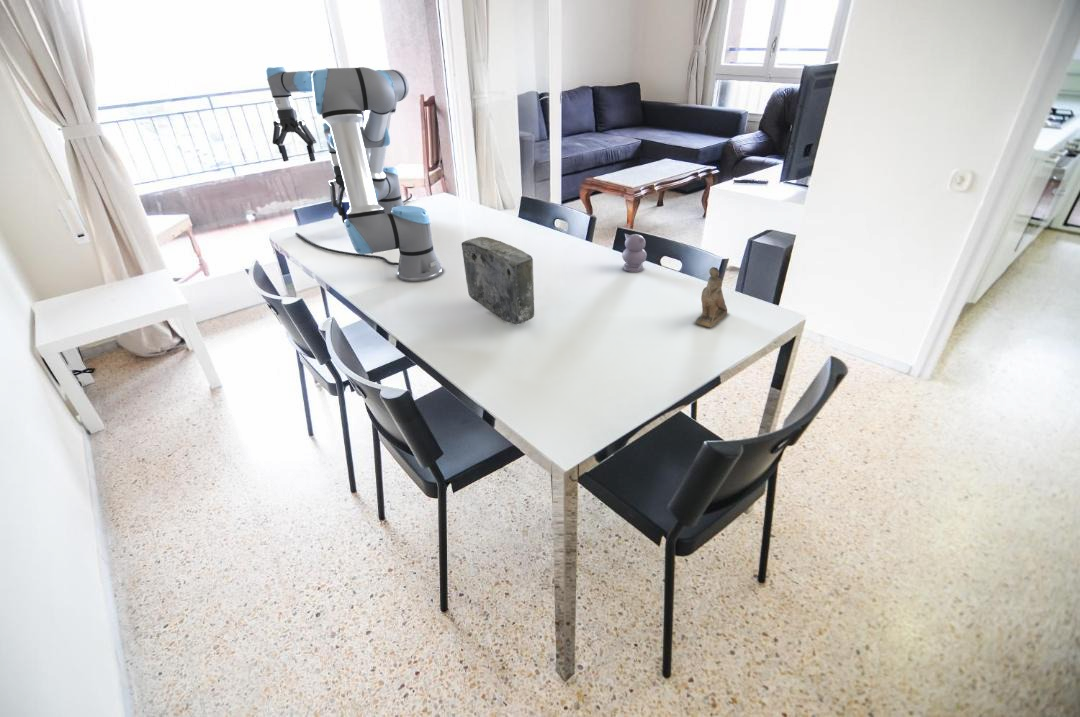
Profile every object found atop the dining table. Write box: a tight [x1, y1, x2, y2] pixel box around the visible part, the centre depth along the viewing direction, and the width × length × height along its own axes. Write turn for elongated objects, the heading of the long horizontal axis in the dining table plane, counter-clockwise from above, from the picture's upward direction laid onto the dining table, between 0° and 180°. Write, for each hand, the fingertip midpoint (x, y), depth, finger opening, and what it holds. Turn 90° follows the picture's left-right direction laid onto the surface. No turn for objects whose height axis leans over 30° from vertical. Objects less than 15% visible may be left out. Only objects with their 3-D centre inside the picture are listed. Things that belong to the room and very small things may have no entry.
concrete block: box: [461, 236, 535, 325], centre depth 141 cm, size 27×9×20 cm, turn 36°
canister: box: [341, 197, 350, 219], centre depth 208 cm, size 8×8×12 cm
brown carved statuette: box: [695, 266, 728, 328], centre depth 135 cm, size 12×6×18 cm, turn 136°
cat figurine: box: [621, 233, 648, 273], centre depth 170 cm, size 8×8×12 cm
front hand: (355, 220), depth 210 cm, fingers closed on canister, 8 cm apart
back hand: (299, 161), depth 224 cm, fingers open, 13 cm apart
